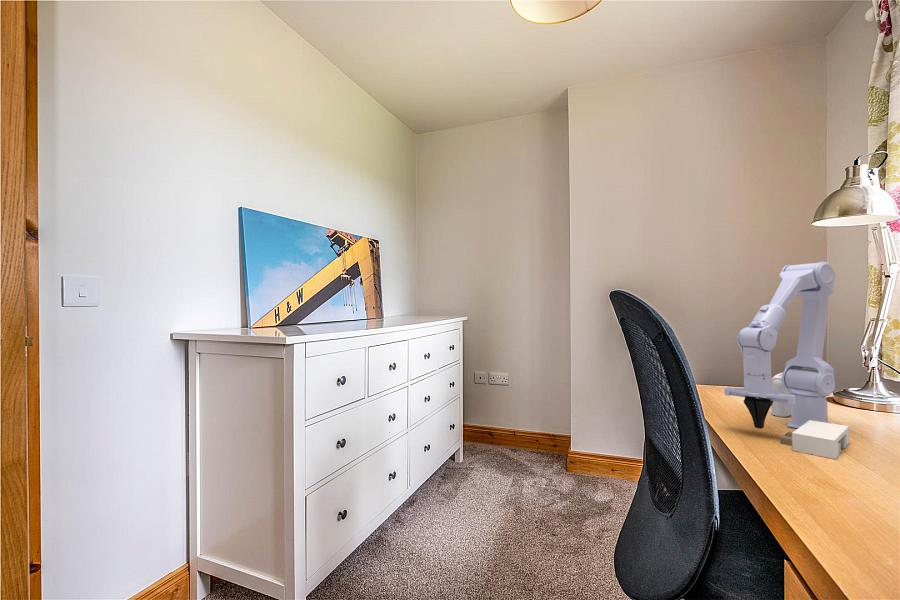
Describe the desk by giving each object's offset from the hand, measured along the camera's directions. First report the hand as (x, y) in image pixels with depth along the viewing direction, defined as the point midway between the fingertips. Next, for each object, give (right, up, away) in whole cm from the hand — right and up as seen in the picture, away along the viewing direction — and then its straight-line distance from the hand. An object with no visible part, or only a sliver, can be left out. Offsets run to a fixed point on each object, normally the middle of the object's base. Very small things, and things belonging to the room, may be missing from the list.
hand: (759, 427), depth 106 cm
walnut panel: (+6, -2, -8) cm, 10 cm away
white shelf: (+7, -2, -9) cm, 12 cm away
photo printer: (+22, -2, +19) cm, 29 cm away
